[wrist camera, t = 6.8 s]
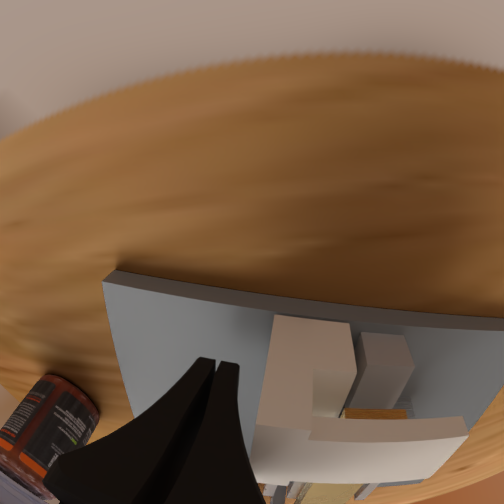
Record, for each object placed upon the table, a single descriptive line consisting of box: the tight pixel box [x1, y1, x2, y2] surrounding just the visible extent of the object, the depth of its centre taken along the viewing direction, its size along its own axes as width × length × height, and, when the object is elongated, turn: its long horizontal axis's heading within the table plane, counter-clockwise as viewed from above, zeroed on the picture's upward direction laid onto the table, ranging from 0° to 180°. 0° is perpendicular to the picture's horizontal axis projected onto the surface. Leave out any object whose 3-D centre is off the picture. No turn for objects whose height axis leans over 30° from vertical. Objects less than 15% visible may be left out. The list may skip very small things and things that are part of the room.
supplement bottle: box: [0, 375, 99, 500], centre depth 15 cm, size 6×6×11 cm
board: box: [102, 270, 504, 504], centre depth 14 cm, size 16×22×6 cm
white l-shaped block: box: [250, 314, 469, 486], centre depth 10 cm, size 4×7×5 cm, turn 86°
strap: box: [294, 408, 408, 504], centre depth 12 cm, size 13×2×1 cm, turn 176°
